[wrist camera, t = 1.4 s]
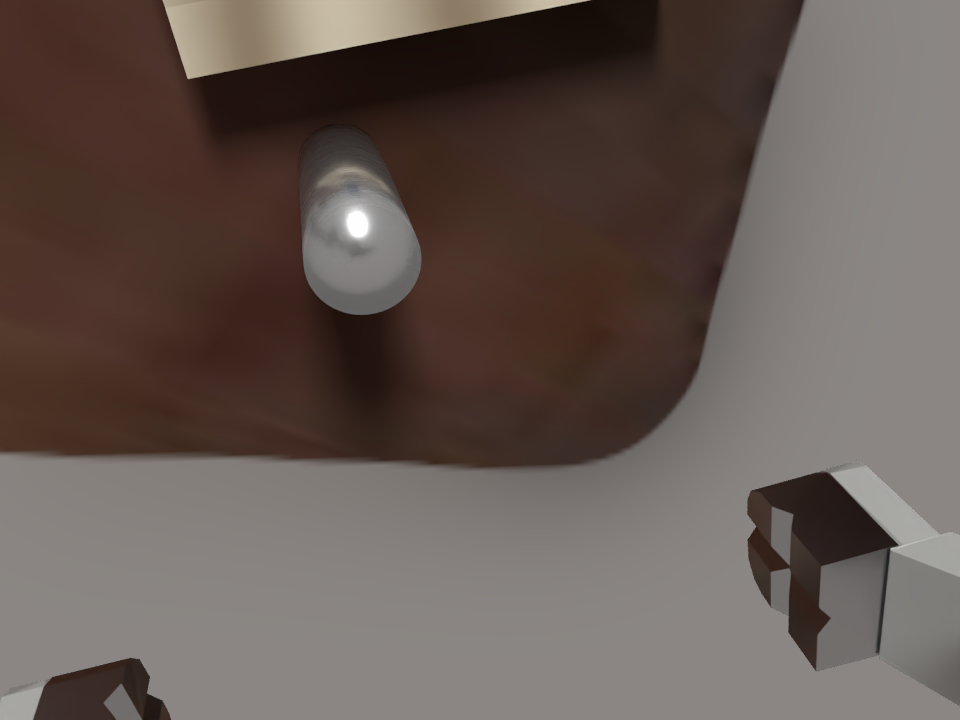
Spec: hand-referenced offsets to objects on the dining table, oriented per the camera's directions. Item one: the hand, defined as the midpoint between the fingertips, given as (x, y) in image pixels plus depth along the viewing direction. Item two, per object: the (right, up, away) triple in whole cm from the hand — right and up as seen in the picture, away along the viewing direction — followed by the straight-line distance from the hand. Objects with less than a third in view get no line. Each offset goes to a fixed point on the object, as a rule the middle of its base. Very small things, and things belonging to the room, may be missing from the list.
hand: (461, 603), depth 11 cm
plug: (-5, +10, +20) cm, 24 cm away
